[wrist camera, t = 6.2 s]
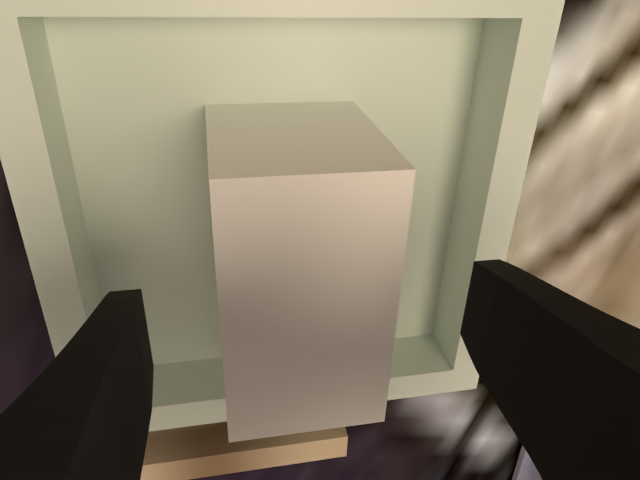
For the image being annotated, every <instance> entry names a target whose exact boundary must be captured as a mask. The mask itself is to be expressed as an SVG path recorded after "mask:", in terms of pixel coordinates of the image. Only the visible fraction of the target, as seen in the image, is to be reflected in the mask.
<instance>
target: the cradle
mask: <svg viewBox="0 0 640 480" xmlns="http://www.w3.org/2000/svg"><path fill="white" fill-rule="evenodd" d="M347 442H348V435H347V432H346V428H345V427H340V428H332V429H325V430H318V431H310V432H303V433H296V434H289V435H281V436H274V437H267V438H259V439H252V440H245V441H237V442H230V443H229V440H228V427H227V421H226V422H218V423H211V424H203V425H195V426H188V427H180V428H172V429H165V430H157V431H150V432H148V438H147V444H146V450H145V456H144V461H143V467H142V473H141V479H140V480H189V479H196V478H202V477H209V476H216V475H222V474H229V473H236V472H243V471H249V470H256V469H263V468H269V467H276V466H283V465H290V464H296V463H303V462H310V461H317V460H323V459H330V458H337V457H343V456H346V455H347Z"/></svg>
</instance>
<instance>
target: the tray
mask: <svg viewBox="0 0 640 480" xmlns="http://www.w3.org/2000/svg"><path fill="white" fill-rule="evenodd" d="M564 2H565V0H0V159H1V163H2V166H3V170H4V173H5V177H6V181H7V184H8V188H9V191H10V195H11V199H12V202H13V206H14V210H15V213H16V217H17V220H18V224H19V228H20V231H21V235H22V239H23V242H24V246H25V249H26V253H27V257H28V260H29V264H30V268H31V271H32V275H33V278H34V282H35V286H36V289H37V293H38V296H39V300H40V304H41V307H42V311H43V315H44V318H45V322H46V325H47V329H48V333H49V336H50V340H51V344H52V347H53V351H54V354H55V357H56V356H57V355H58V354H59V353H60V352H61V350H62V349H63V348H64V347H65V346H66V344H67V343H68V342H69V341H70V340H71V339H72V337H73V336H74V335H75V334H76V333H77V331H78V330H79V329H80V328H81V326H82V325H83V324H84V322H85V321H86V320H87V319H88V317H89V316H90V315H91V314H92V312H93V311H94V310H95V308H96V307H97V306H98V304H99V303H100V302H101V301H102V299H103V298H104V297H105V296H106V295H107V294H108V293H109V292H110V291H120V290H133V289H141V290H142V297H143V303H144V309H145V315H146V321H147V328H148V334H149V340H150V346H151V353H152V359H153V365H154V373H153V398H152V413H151V419H150V426H149V432H150V431H157V430H165V429H172V428H180V427H188V426H195V425H203V424H211V423H218V422H226V421H227V414H226V401H225V388H224V374H223V361H222V348H221V335H220V322H219V308H218V295H217V282H216V269H215V256H214V243H213V229H212V216H211V203H210V190H209V175H208V156H207V137H206V117H205V105H208V104H251V103H294V102H337V101H354V103H355V104H356V105H357V106H358V107H359V108H360V109H361V110H362V111H363V112H364V113H365V115H366V116H367V117H368V118H369V119H370V120H371V121H372V122H373V123H374V124H375V125H376V127H377V128H378V129H379V130H380V131H381V132H382V133H383V134H384V135H385V136H386V137H387V139H388V140H389V141H390V142H391V143H392V144H393V145H394V146H395V147H396V148H397V149H398V151H399V152H400V153H401V154H402V155H403V156H404V157H405V158H406V159H407V160H408V161H409V163H410V164H411V165H412V166H413V167H414V168H415V169H416V173H415V181H414V189H413V197H412V205H411V213H410V221H409V229H408V237H407V245H406V253H405V261H404V269H403V277H402V285H401V293H400V301H399V309H398V317H397V325H396V333H395V341H394V349H393V357H392V365H391V373H390V381H389V389H388V397H387V400H393V399H401V398H409V397H416V396H424V395H431V394H439V393H447V392H454V391H462V390H469V389H476V387H477V383H478V378H479V374H478V373H477V371H476V369H475V367H474V365H473V362H472V360H471V358H470V356H469V354H468V351H467V349H466V346H465V344H464V342H463V339H462V337H461V334H460V331H461V326H462V320H463V315H464V310H465V305H466V300H467V295H468V289H469V284H470V279H471V274H472V269H473V264H474V261H483V260H495V259H500V260H502V261H505V260H506V256H507V251H508V247H509V243H510V238H511V234H512V230H513V225H514V221H515V216H516V212H517V208H518V203H519V199H520V195H521V190H522V186H523V182H524V177H525V173H526V168H527V164H528V160H529V155H530V151H531V147H532V142H533V138H534V133H535V129H536V125H537V120H538V116H539V112H540V107H541V103H542V98H543V94H544V90H545V85H546V81H547V77H548V72H549V68H550V64H551V59H552V55H553V50H554V46H555V42H556V37H557V33H558V29H559V24H560V20H561V15H562V11H563V7H564Z"/></svg>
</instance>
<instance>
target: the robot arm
mask: <svg viewBox="0 0 640 480" xmlns="http://www.w3.org/2000/svg"><path fill="white" fill-rule="evenodd" d="M460 334H461V337H462V339H463V342H464V344H465V346H466V349H467V351H468V354H469V356H470V358H471V360H472V362H473V365H474V367H475V369H476V371H477V373H478V374H479V376H480V378H481V379H482V381H483V383H484V384H485V386H486V388H487V389H488V391H489V393H490V394H491V396H492V397H493V399H494V401H495V402H496V404H497V405H498V407H499V409H500V410H501V412H502V413H503V415H504V417H505V418H506V420H507V421H508V423H509V425H510V426H511V428H512V429H513V431H514V432H515V434H516V436H517V437H518V439H519V440H520V442H521V444H522V448H521V451H520V454H519V458H518V461H517V464H516V467H515V471H514V474H513V477H512V480H640V329H639V328H636V327H634V326H632V325H630V324H628V323H626V322H623V321H621V320H619V319H617V318H615V317H613V316H611V315H609V314H606V313H604V312H602V311H600V310H598V309H596V308H594V307H592V306H590V305H588V304H587V303H585V302H583V301H581V300H579V299H577V298H575V297H573V296H571V295H569V294H567V293H565V292H564V291H562V290H560V289H558V288H556V287H554V286H552V285H550V284H548V283H547V282H545V281H543V280H541V279H539V278H537V277H535V276H533V275H532V274H530V273H528V272H526V271H524V270H522V269H520V268H518V267H516V266H514V265H512V264H509V263H507V262H505V261H502V260H500V259H495V260H483V261H474V264H473V269H472V274H471V279H470V284H469V289H468V295H467V300H466V305H465V310H464V315H463V320H462V326H461V331H460ZM153 373H154V365H153V359H152V353H151V346H150V340H149V334H148V328H147V321H146V315H145V309H144V303H143V297H142V290H141V289H133V290H120V291H110V292H109V293H108V294H107V295H106V296H105V297H104V298H103V299H102V301H101V302H100V303H99V304H98V306H97V307H96V308H95V310H94V311H93V312H92V314H91V315H90V316H89V317H88V319H87V320H86V321H85V322H84V324H83V325H82V326H81V328H80V329H79V330H78V331H77V333H76V334H75V335H74V336H73V337H72V339H71V340H70V341H69V342H68V343H67V344H66V346H65V347H64V348H63V349H62V350H61V352H60V353H59V354H58V355H57V356H56V357H55V359H54V360H53V361H52V362H51V363H50V364H49V365H48V366H47V367H46V369H45V370H44V371H43V372H42V373H41V374H40V375H39V376H38V377H37V378H36V379H35V380H34V381H33V382H32V383H31V384H30V385H29V387H28V388H27V389H26V390H25V391H24V392H23V393H22V394H21V395H20V396H19V397H18V398H17V399H16V400H15V401H14V402H13V403H12V404H11V405H10V406H9V407H8V408H7V409H6V410H4V411H3V412H2V413H1V414H0V480H140V479H141V473H142V467H143V461H144V456H145V450H146V444H147V438H148V432H149V426H150V419H151V413H152V398H153Z"/></svg>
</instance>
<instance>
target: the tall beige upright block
mask: <svg viewBox="0 0 640 480" xmlns="http://www.w3.org/2000/svg"><path fill="white" fill-rule="evenodd" d="M205 117H206V137H207V156H208V175H209V190H210V203H211V216H212V229H213V243H214V256H215V269H216V282H217V295H218V308H219V322H220V335H221V348H222V361H223V374H224V388H225V401H226V414H227V427H228V440H229V443H230V442H237V441H245V440H252V439H259V438H267V437H274V436H281V435H289V434H296V433H303V432H310V431H318V430H325V429H332V428H340V427H347V426H354V425H362V424H369V423H376V422H384V421H385V413H386V405H387V397H388V389H389V381H390V373H391V365H392V357H393V349H394V341H395V333H396V325H397V317H398V309H399V301H400V293H401V285H402V277H403V269H404V261H405V253H406V245H407V237H408V229H409V221H410V213H411V205H412V197H413V189H414V181H415V173H416V169H415V168H414V167H413V166H412V165H411V164H410V163H409V161H408V160H407V159H406V158H405V157H404V156H403V155H402V154H401V153H400V152H399V151H398V149H397V148H396V147H395V146H394V145H393V144H392V143H391V142H390V141H389V140H388V139H387V137H386V136H385V135H384V134H383V133H382V132H381V131H380V130H379V129H378V128H377V127H376V125H375V124H374V123H373V122H372V121H371V120H370V119H369V118H368V117H367V116H366V115H365V113H364V112H363V111H362V110H361V109H360V108H359V107H358V106H357V105H356V104H355V103H354V101H337V102H294V103H251V104H208V105H205Z"/></svg>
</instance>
